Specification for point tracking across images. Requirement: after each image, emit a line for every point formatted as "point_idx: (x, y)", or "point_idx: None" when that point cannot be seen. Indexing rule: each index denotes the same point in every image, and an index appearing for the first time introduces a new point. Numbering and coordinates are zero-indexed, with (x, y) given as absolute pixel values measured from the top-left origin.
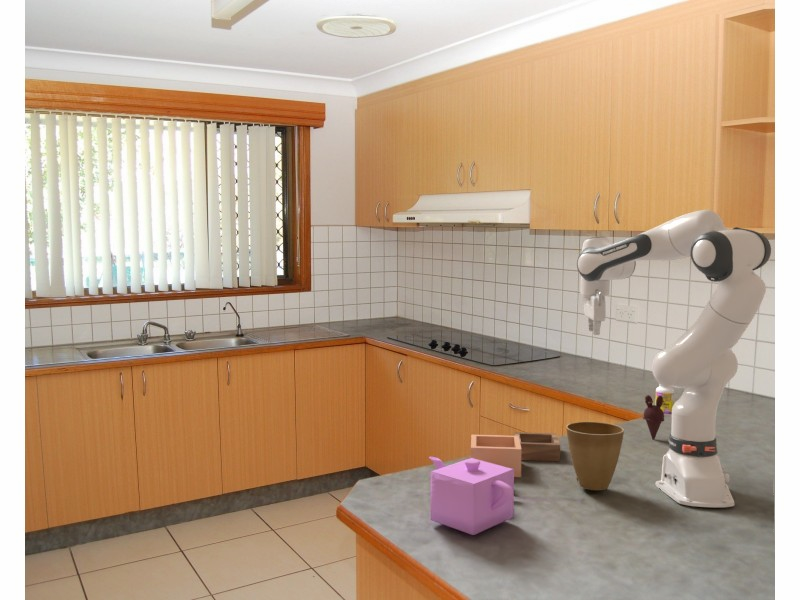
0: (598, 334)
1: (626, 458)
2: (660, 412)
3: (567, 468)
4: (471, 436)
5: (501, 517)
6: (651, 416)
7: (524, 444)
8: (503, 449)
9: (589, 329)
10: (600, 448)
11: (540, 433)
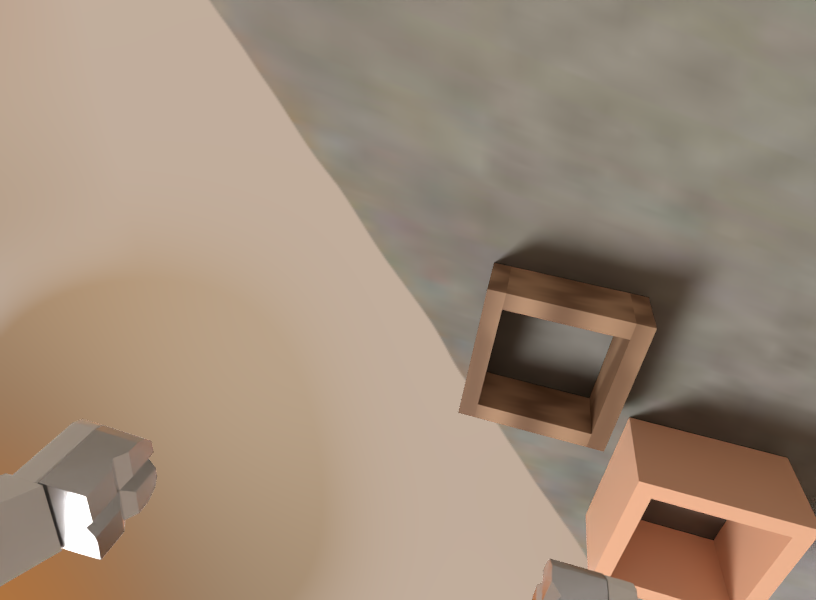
0: (627, 592)
1: (678, 14)
2: None
3: (742, 302)
4: None
5: None
6: None
7: (612, 429)
8: (790, 566)
9: (142, 508)
10: None
11: (482, 340)
